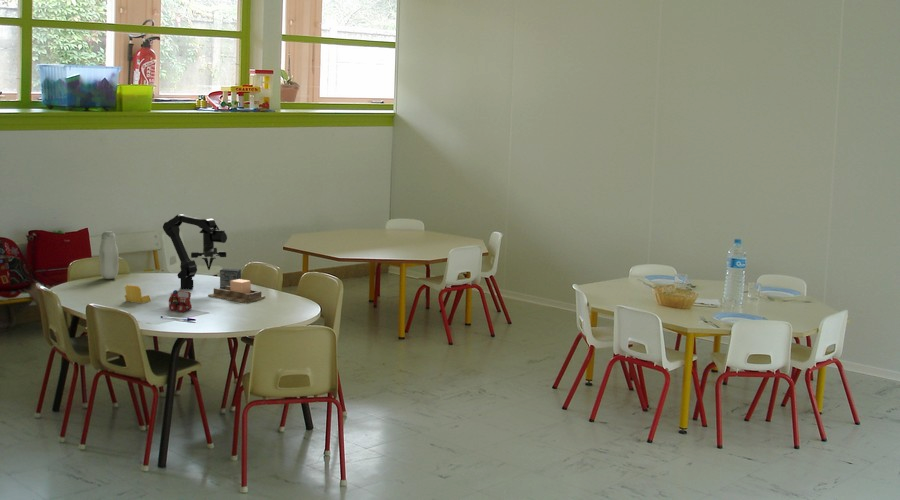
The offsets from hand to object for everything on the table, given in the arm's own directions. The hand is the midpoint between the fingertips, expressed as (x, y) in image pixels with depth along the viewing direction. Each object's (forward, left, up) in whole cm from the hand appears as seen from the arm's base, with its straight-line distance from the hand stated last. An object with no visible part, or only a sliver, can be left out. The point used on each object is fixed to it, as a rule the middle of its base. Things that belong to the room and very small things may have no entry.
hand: (208, 269), depth 542 cm
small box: (+12, +9, -12) cm, 19 cm away
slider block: (+16, -19, -11) cm, 27 cm away
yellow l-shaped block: (-37, -22, -13) cm, 44 cm away
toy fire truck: (-15, -47, -12) cm, 51 cm away
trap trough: (+14, -17, -12) cm, 25 cm away
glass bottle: (-55, +41, -12) cm, 70 cm away
